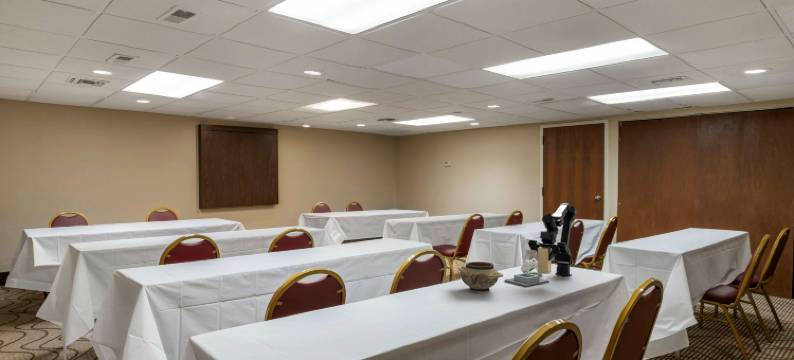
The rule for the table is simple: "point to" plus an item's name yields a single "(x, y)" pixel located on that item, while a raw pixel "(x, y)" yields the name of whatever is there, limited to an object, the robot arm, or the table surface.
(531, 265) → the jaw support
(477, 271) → the ceramic bowl
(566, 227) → the robot arm
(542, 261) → the tan rectangular block
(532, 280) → the housing plate
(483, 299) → the table surface
